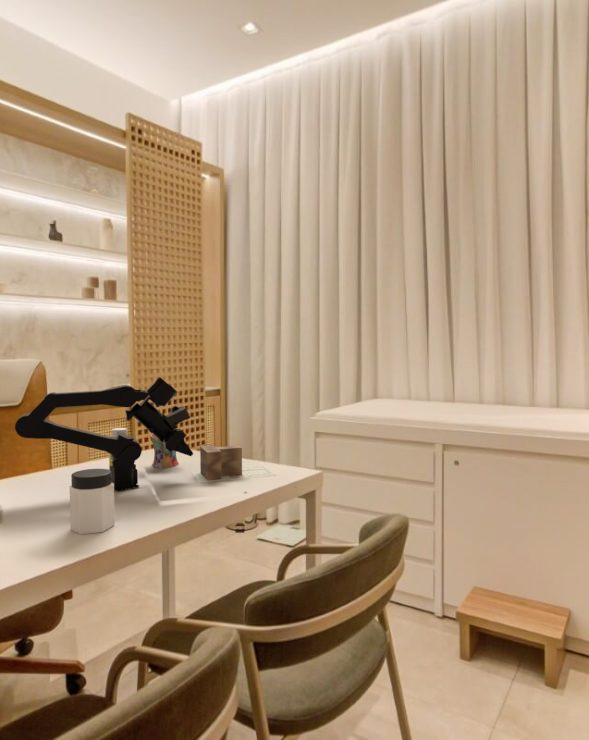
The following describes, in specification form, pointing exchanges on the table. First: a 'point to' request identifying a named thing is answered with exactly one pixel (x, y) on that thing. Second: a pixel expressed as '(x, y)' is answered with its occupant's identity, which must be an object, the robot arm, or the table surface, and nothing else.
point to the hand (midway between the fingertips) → (192, 454)
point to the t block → (220, 461)
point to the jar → (91, 501)
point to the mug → (162, 455)
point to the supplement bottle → (114, 432)
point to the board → (203, 479)
